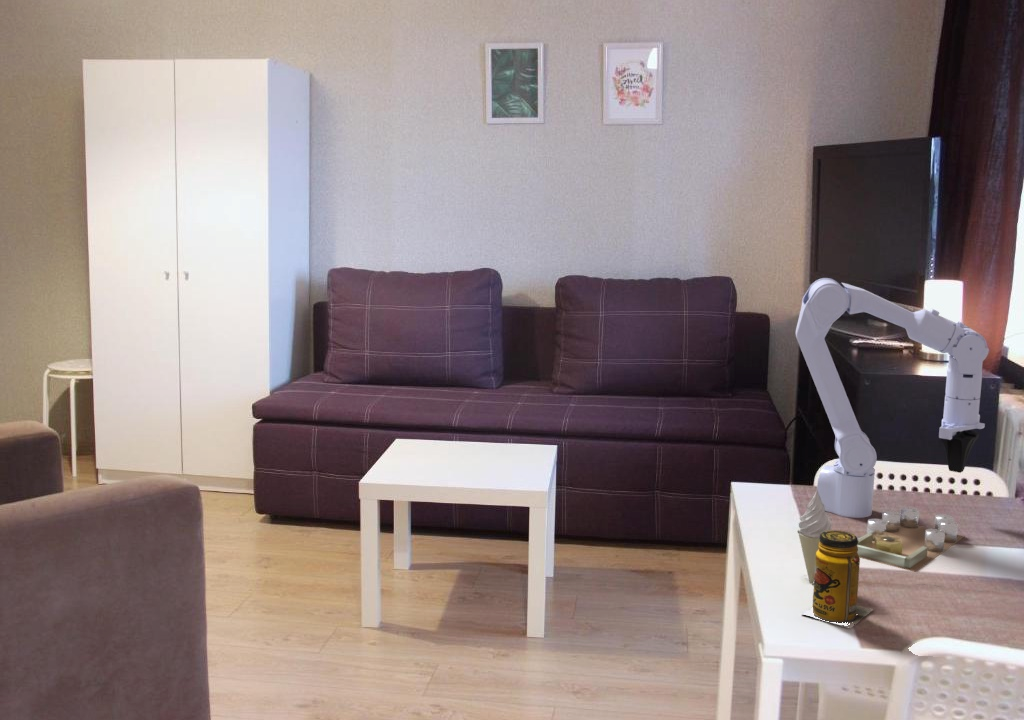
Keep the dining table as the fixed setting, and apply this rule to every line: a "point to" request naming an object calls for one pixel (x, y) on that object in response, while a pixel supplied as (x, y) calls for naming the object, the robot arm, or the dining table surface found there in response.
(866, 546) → the tan tray
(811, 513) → the ice cream cone
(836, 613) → the condiment
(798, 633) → the dining table surface
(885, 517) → the spacers
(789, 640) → the dining table surface
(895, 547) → the nut
